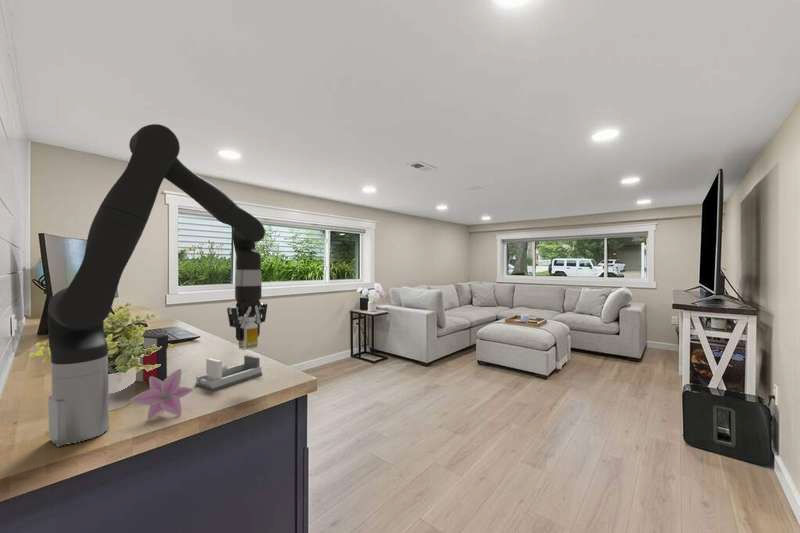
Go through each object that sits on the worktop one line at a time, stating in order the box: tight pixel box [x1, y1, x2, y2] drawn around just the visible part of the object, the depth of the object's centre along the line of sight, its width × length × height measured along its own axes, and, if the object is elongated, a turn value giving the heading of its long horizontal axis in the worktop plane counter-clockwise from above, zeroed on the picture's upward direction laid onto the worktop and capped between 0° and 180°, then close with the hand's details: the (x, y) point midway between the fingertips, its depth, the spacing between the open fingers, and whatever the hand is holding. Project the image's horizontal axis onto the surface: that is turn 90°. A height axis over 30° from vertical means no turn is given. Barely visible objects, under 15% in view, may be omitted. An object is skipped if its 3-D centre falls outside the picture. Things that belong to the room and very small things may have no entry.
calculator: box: [136, 333, 169, 384], centre depth 110 cm, size 11×4×15 cm, turn 76°
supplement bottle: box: [238, 316, 259, 351], centre depth 106 cm, size 5×5×10 cm
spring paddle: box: [205, 357, 228, 381], centre depth 108 cm, size 4×6×7 cm, turn 59°
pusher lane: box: [194, 354, 263, 392], centre depth 111 cm, size 17×10×6 cm, turn 149°
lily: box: [129, 368, 194, 421], centre depth 88 cm, size 12×12×10 cm
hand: (248, 338), depth 106 cm, fingers closed on supplement bottle, 5 cm apart
